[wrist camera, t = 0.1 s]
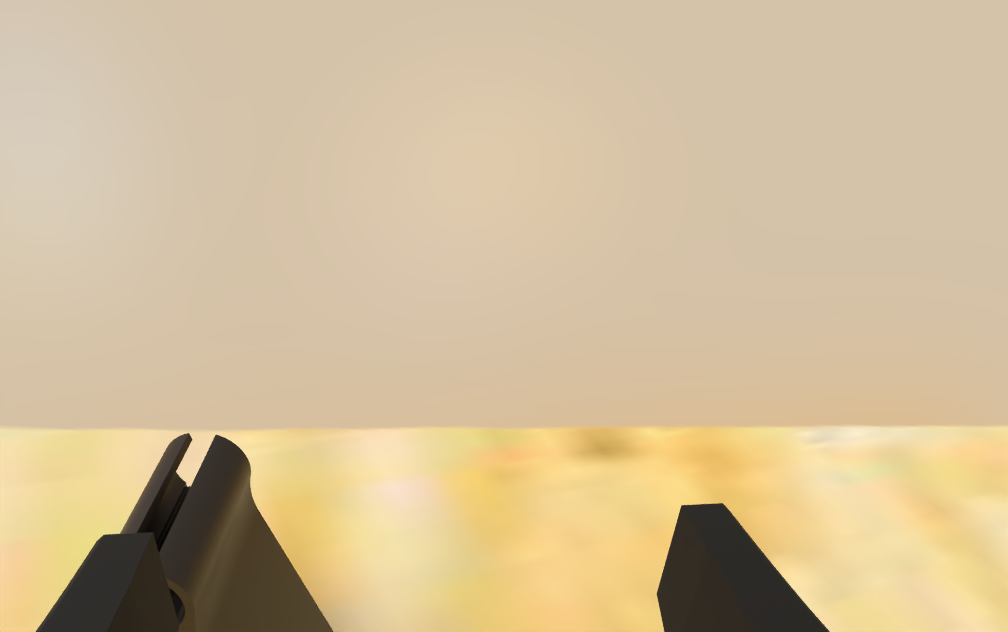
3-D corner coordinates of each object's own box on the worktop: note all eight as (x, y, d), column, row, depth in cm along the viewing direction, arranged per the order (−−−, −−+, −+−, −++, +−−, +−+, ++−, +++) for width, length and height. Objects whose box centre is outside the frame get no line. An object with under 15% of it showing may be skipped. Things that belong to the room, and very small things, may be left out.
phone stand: (349, 662, 35) (335, 440, 28) (318, 810, 29) (293, 581, 23) (132, 650, 34) (70, 425, 28) (65, 797, 29) (-30, 563, 23)
